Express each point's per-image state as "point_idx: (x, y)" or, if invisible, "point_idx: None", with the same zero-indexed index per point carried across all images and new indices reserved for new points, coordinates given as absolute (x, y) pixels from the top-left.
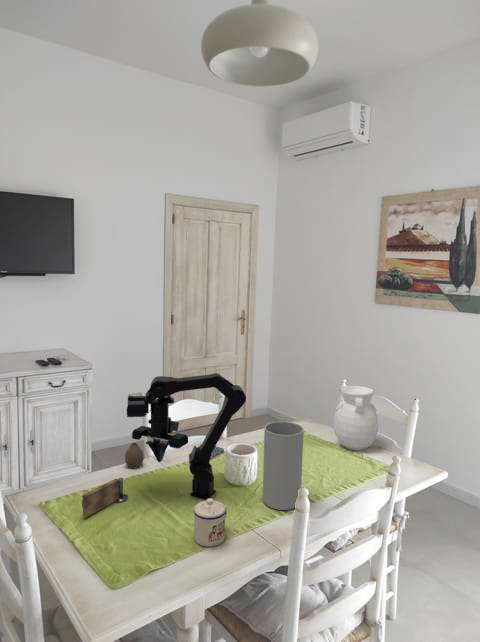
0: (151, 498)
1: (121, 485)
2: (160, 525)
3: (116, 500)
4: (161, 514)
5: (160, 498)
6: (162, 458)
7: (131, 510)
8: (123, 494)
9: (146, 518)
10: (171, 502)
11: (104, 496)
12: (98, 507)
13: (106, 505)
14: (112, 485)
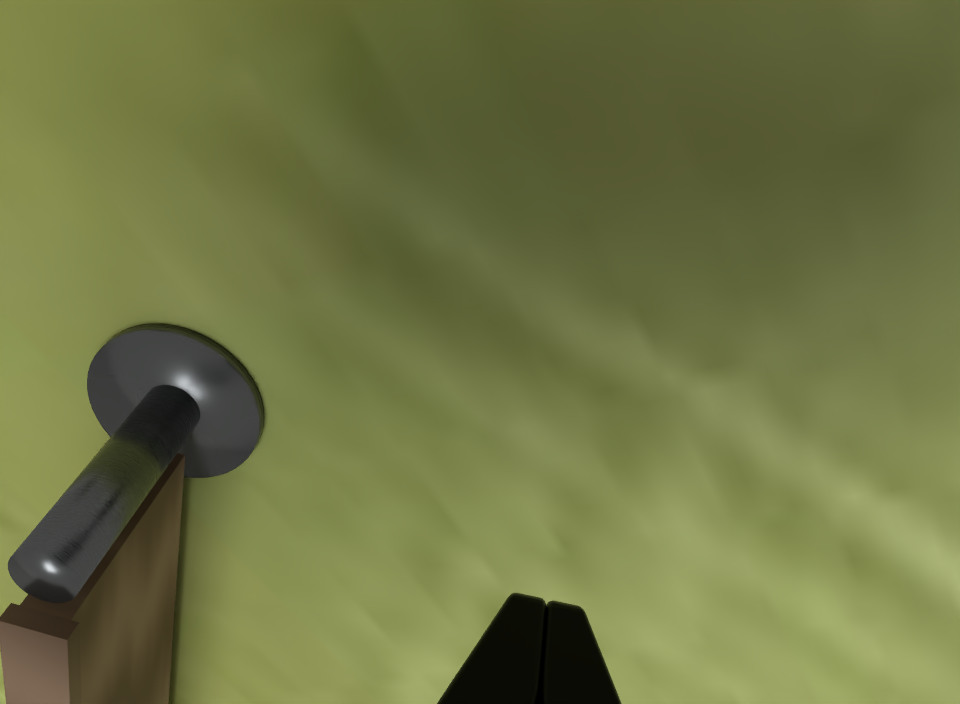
0: (505, 306)
1: (118, 534)
2: (820, 699)
3: None
4: (767, 563)
5: (620, 276)
6: (605, 685)
7: (430, 555)
8: (149, 342)
9: (642, 636)
10: (808, 329)
11: (124, 683)
12: (161, 665)
13: (176, 580)
14: (82, 680)
